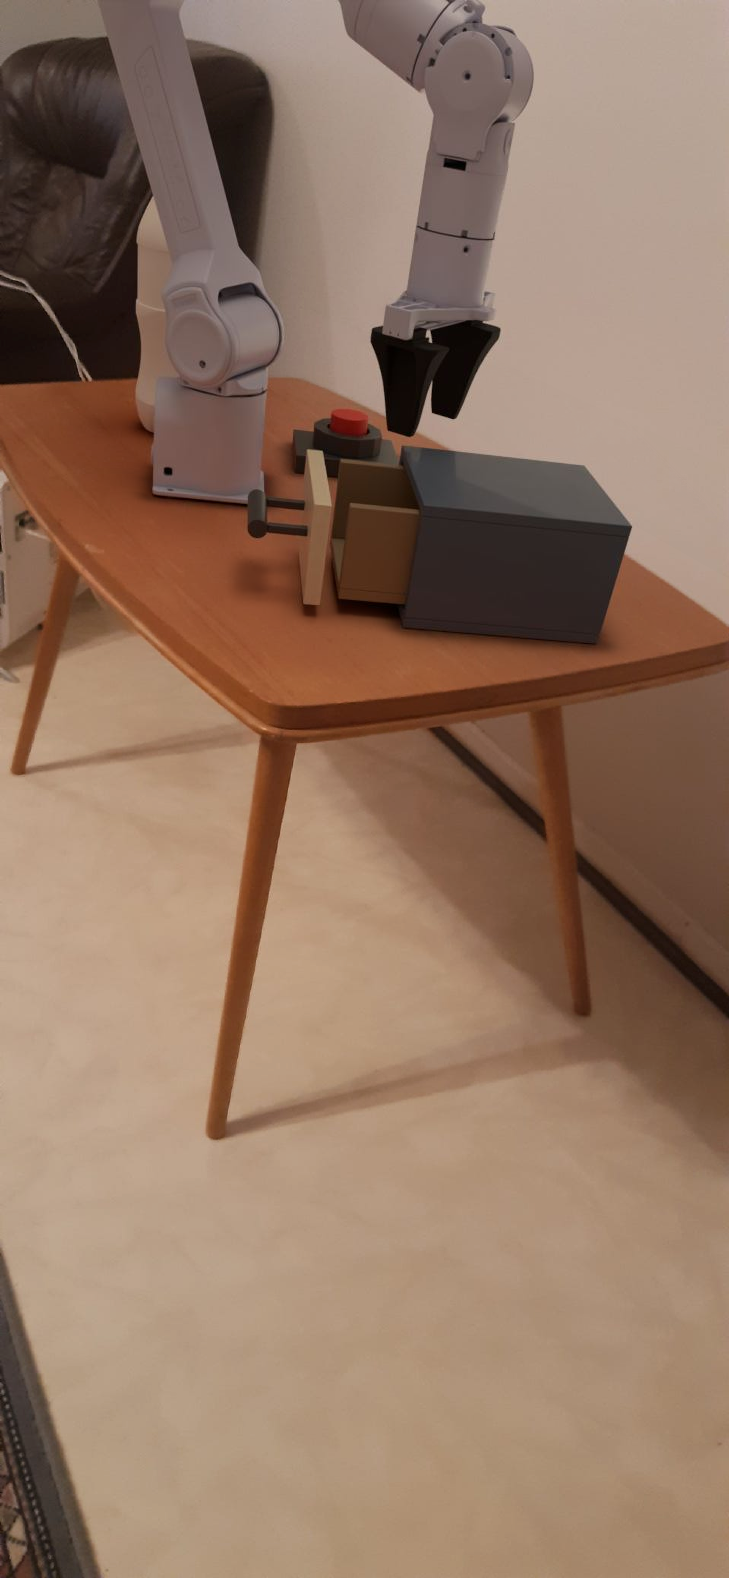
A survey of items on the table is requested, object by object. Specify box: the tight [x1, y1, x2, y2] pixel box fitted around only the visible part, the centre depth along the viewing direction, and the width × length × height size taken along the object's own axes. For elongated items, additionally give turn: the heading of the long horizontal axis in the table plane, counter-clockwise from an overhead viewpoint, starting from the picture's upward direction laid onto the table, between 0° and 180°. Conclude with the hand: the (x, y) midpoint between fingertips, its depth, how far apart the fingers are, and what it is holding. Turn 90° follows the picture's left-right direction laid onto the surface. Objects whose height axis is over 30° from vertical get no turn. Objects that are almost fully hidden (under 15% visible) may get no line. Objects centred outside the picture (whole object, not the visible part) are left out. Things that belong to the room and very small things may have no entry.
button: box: [330, 408, 370, 436], centre depth 99 cm, size 4×4×2 cm
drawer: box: [246, 449, 421, 606], centre depth 75 cm, size 18×11×7 cm, turn 95°
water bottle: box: [134, 196, 179, 434], centre depth 95 cm, size 7×7×25 cm
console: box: [291, 417, 400, 478], centre depth 100 cm, size 10×8×4 cm
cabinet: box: [396, 444, 633, 645], centre depth 77 cm, size 15×13×9 cm
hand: (423, 424), depth 81 cm, fingers open, 7 cm apart
